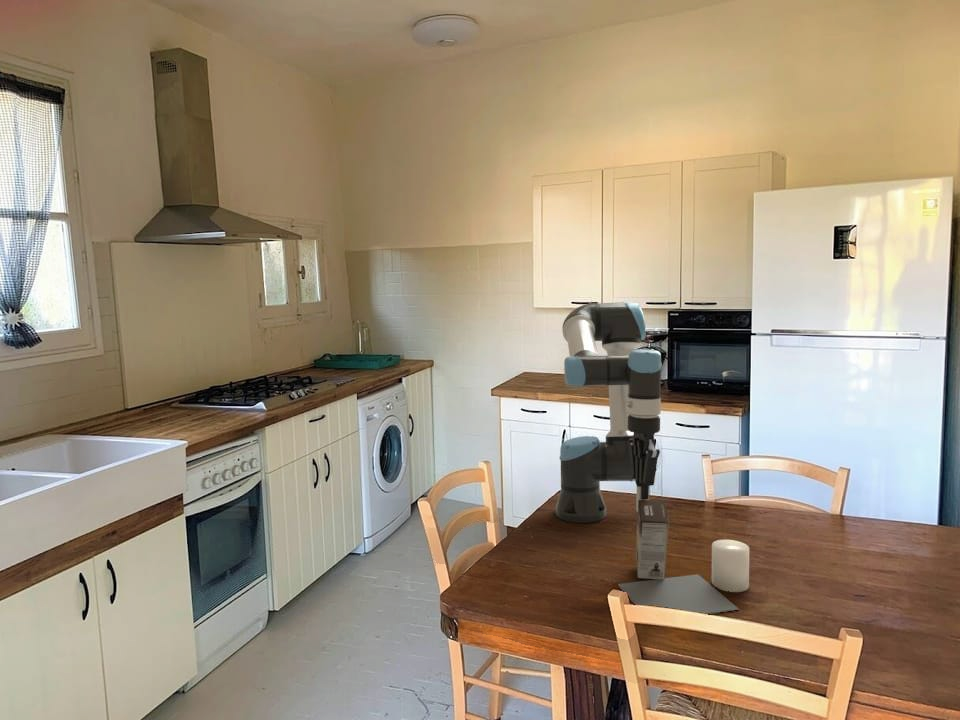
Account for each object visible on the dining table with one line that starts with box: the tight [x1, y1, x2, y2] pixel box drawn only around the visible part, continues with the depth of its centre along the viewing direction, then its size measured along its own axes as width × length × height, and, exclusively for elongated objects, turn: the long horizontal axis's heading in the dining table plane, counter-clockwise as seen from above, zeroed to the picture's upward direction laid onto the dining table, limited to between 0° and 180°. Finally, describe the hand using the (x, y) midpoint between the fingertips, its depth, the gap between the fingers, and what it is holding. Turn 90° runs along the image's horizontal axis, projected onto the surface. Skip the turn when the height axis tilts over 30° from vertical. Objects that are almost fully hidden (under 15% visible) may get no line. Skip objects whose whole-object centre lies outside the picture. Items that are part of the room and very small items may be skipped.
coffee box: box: [635, 499, 670, 580], centre depth 154 cm, size 9×6×16 cm
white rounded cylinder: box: [711, 539, 750, 593], centre depth 149 cm, size 8×8×9 cm
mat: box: [617, 573, 739, 615], centre depth 144 cm, size 17×20×1 cm
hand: (642, 511), depth 157 cm, fingers closed
